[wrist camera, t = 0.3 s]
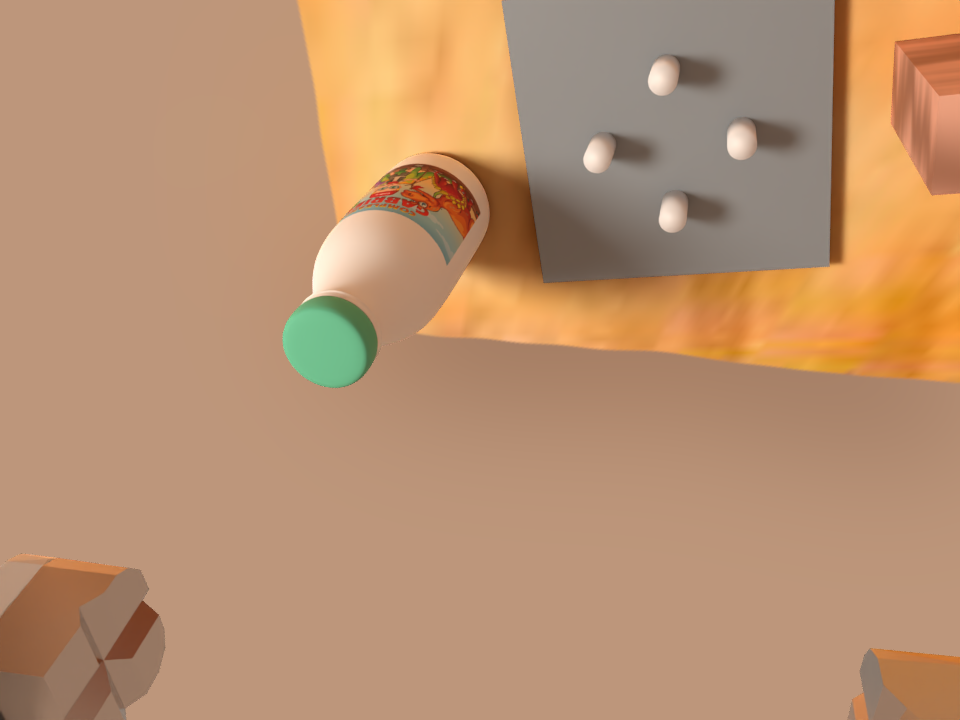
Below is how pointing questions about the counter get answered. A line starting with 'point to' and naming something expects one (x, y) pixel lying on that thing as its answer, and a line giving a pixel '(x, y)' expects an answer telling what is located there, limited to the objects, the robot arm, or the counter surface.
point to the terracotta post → (929, 108)
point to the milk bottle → (387, 267)
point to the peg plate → (675, 133)
